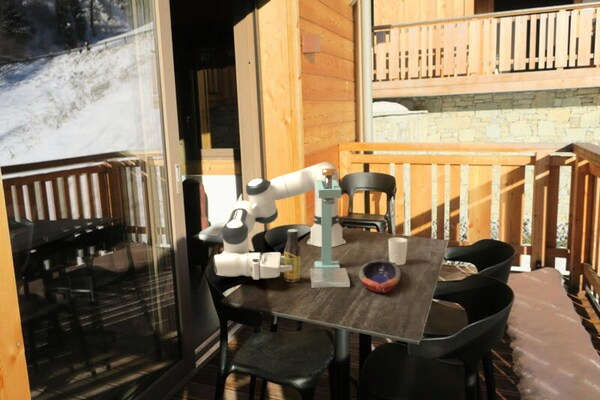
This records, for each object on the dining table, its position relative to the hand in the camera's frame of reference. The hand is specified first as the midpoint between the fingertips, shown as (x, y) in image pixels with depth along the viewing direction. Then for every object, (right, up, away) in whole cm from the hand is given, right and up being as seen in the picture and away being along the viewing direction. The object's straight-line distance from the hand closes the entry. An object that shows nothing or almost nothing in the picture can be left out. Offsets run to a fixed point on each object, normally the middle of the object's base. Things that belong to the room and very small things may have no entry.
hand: (292, 263), depth 189 cm
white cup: (+44, -3, +21) cm, 49 cm away
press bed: (+14, -6, +1) cm, 15 cm away
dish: (+33, -7, -1) cm, 34 cm away
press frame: (+14, -5, +7) cm, 17 cm away
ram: (+14, +23, -4) cm, 27 cm away
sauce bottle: (0, -7, +1) cm, 7 cm away
